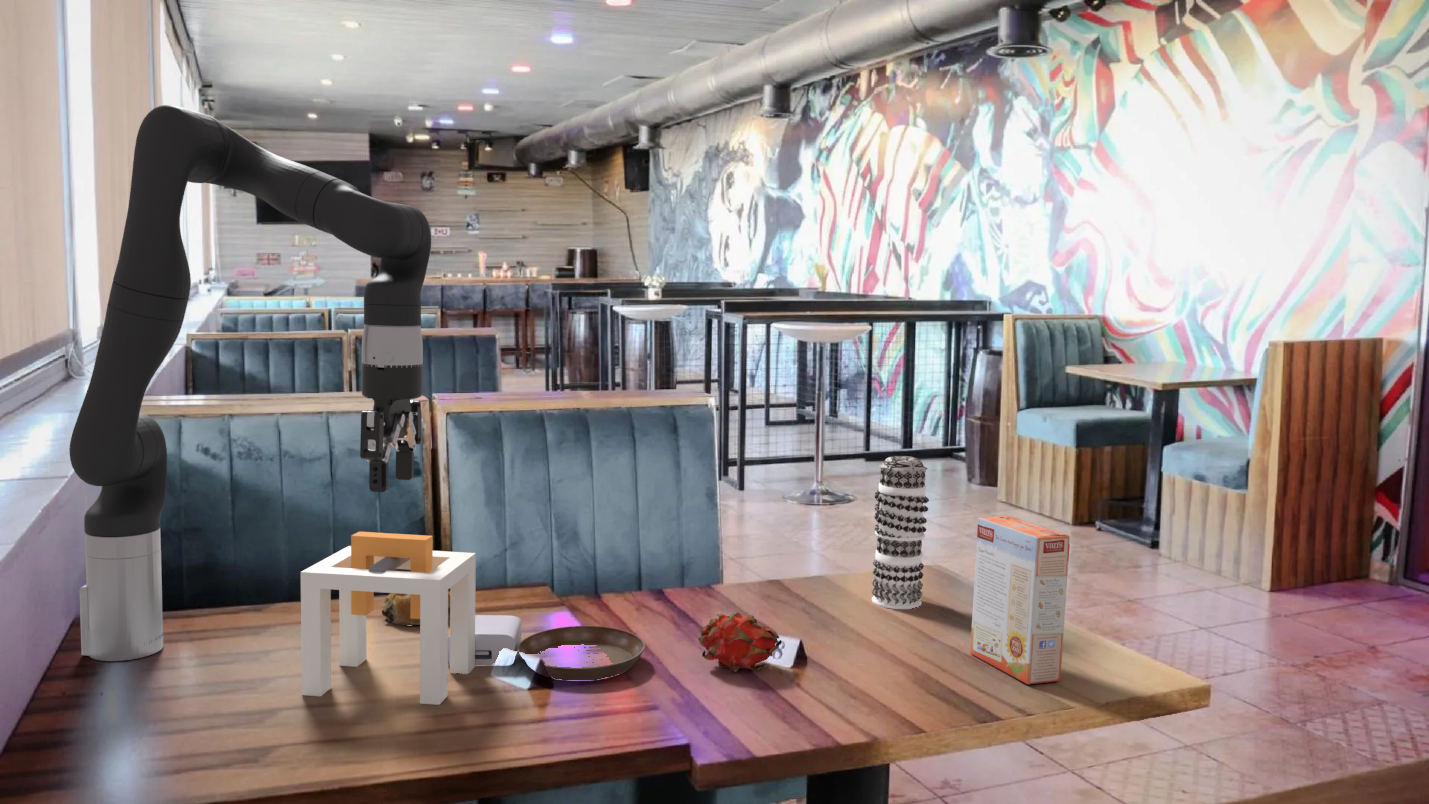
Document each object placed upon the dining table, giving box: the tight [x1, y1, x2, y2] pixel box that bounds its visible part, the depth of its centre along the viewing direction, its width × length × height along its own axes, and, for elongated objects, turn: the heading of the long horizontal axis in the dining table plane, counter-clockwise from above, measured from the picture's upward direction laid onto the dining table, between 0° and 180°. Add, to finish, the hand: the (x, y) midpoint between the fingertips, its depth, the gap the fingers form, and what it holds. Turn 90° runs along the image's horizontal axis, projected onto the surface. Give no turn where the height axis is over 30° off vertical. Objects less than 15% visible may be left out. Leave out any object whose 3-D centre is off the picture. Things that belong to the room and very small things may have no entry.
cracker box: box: [969, 515, 1071, 685], centre depth 158 cm, size 14×6×21 cm, turn 21°
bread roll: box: [381, 592, 450, 626], centre depth 174 cm, size 10×10×8 cm
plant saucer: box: [517, 625, 646, 680], centre depth 155 cm, size 18×18×3 cm
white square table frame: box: [300, 545, 477, 706], centre depth 146 cm, size 18×14×17 cm
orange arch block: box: [350, 531, 434, 619], centre depth 145 cm, size 10×2×10 cm, turn 84°
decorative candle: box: [871, 455, 930, 610], centre depth 189 cm, size 9×9×25 cm
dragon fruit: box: [698, 612, 782, 673], centre depth 156 cm, size 8×8×12 cm
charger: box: [448, 614, 522, 666], centre depth 161 cm, size 5×9×15 cm
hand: (392, 485), depth 144 cm, fingers open, 8 cm apart
